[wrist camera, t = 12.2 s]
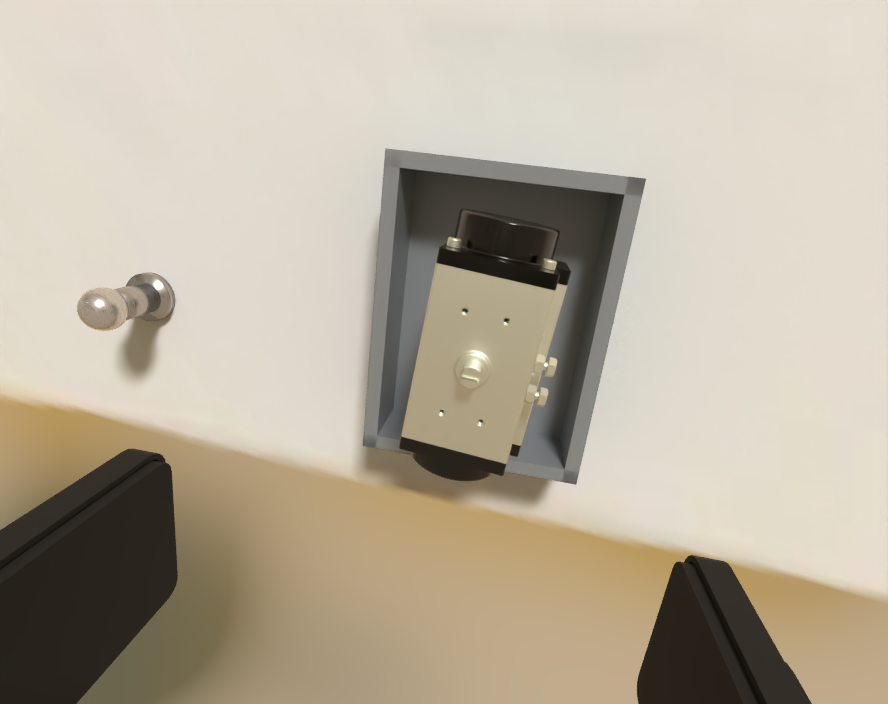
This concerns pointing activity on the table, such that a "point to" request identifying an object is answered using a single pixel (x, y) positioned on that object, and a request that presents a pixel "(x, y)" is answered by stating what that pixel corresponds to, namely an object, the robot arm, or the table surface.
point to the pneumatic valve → (484, 345)
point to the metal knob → (127, 302)
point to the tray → (579, 245)
